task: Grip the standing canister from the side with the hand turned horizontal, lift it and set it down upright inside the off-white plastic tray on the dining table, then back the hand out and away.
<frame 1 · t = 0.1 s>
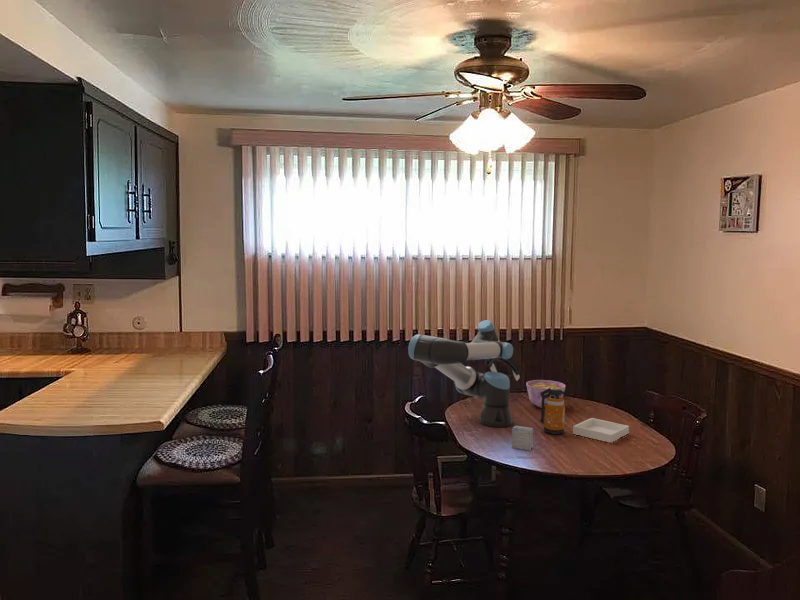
hand: (506, 376, 341), 15 cm above the table, tool tilted 35°, fingers open, 13 cm apart
tray: (600, 434, 296), on the table
medicine box: (522, 448, 278), on the table
bowl of food: (544, 406, 342), on the table
canister: (551, 432, 300), on the table
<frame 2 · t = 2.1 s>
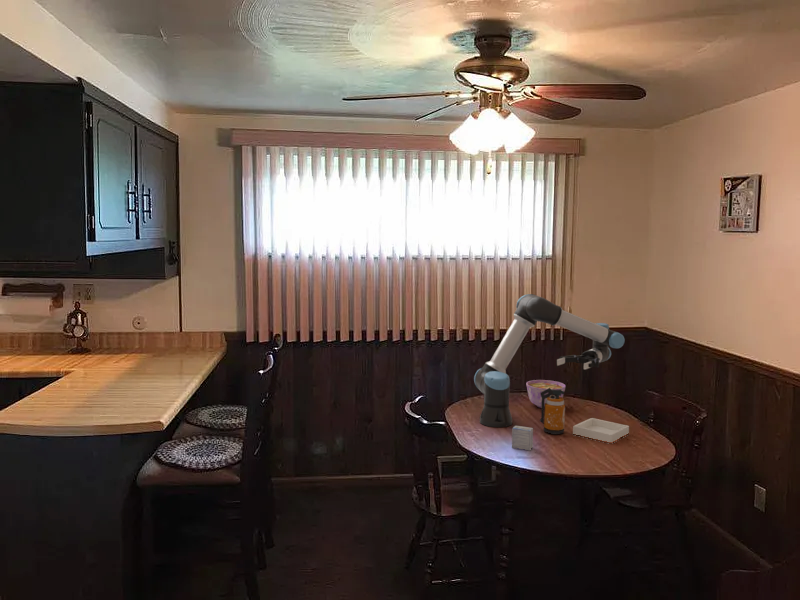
hand: (570, 364, 309), 28 cm above the table, tool horizontal, fingers open, 13 cm apart
nothing on the table moved.
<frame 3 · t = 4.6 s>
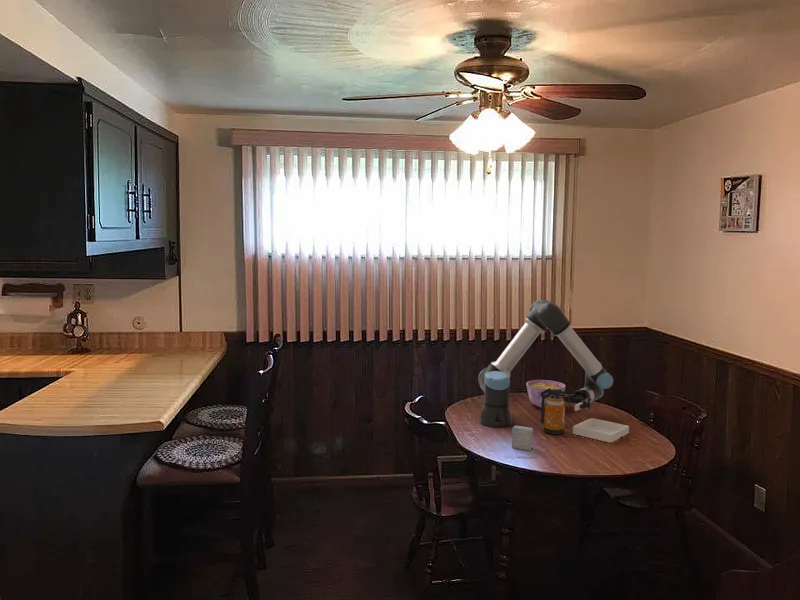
hand: (561, 405, 304), 11 cm above the table, tool horizontal, fingers open, 13 cm apart
nothing on the table moved.
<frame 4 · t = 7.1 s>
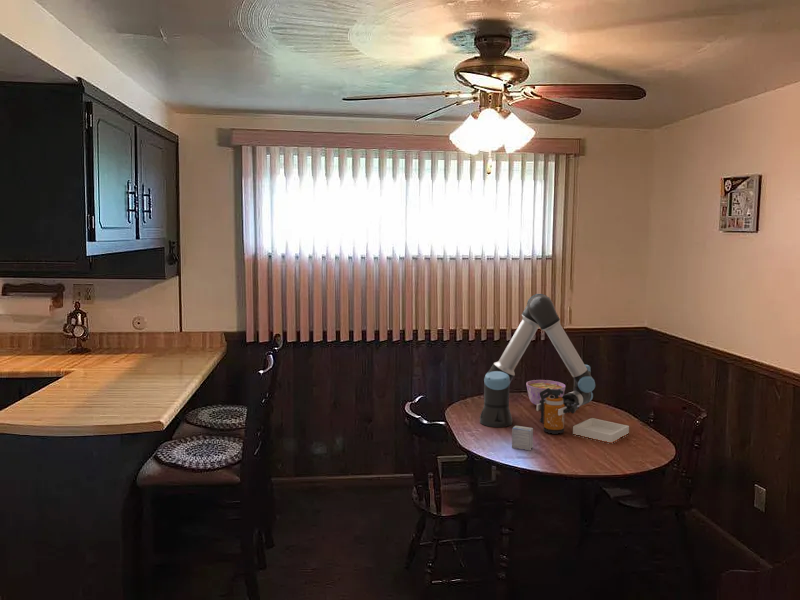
hand: (547, 410, 295), 11 cm above the table, tool horizontal, fingers closed on canister, 10 cm apart
canister: (551, 432, 300), on the table, touching gripper
everything else where it was.
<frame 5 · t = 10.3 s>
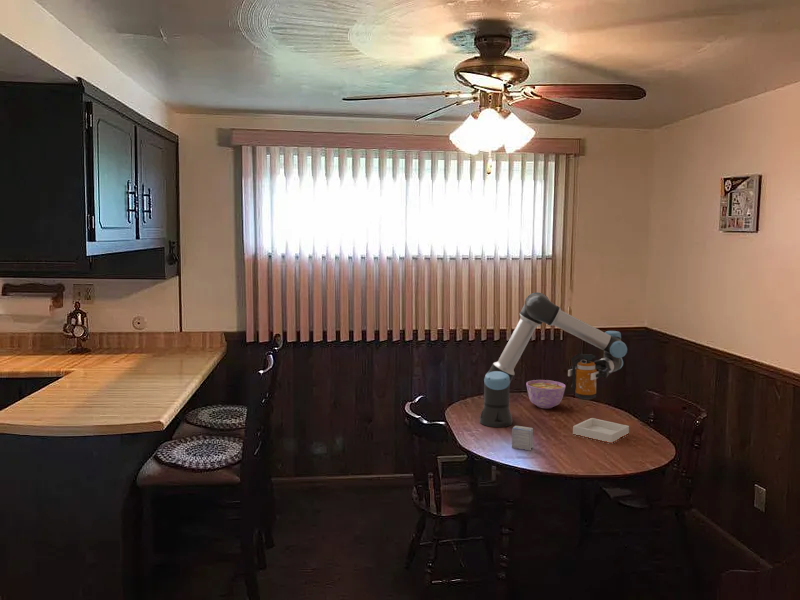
hand: (579, 375, 291), 28 cm above the table, tool horizontal, fingers closed on canister, 10 cm apart
canister: (583, 397, 296), point 16 cm above the table, touching gripper
everything else where it was.
when the fingers open (13 cm above the table, at t = 13.8 s): canister drops 1 cm, resting on tray.
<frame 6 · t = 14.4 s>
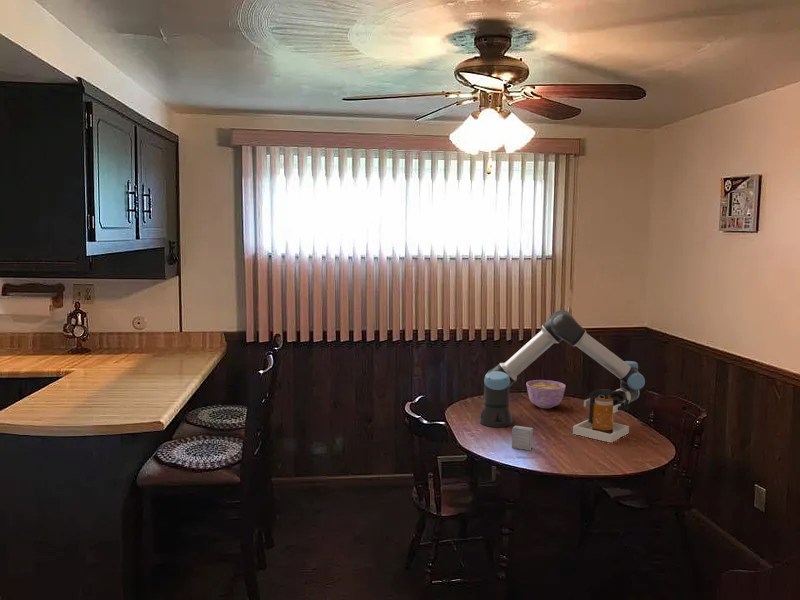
hand: (598, 406, 292), 14 cm above the table, tool horizontal, fingers open, 13 cm apart
canister: (599, 432, 296), point 1 cm above the table, touching tray
everything else where it was.
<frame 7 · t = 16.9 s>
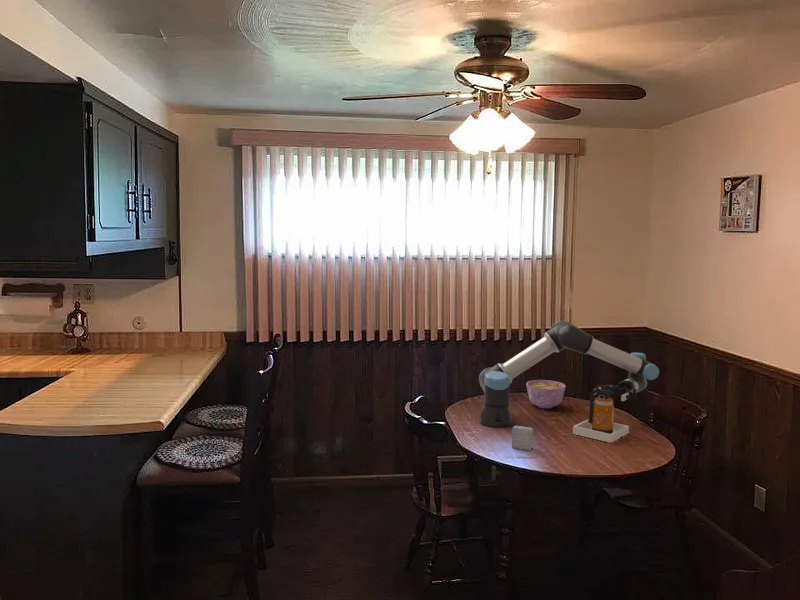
hand: (607, 395, 303), 16 cm above the table, tool horizontal, fingers open, 13 cm apart
nothing on the table moved.
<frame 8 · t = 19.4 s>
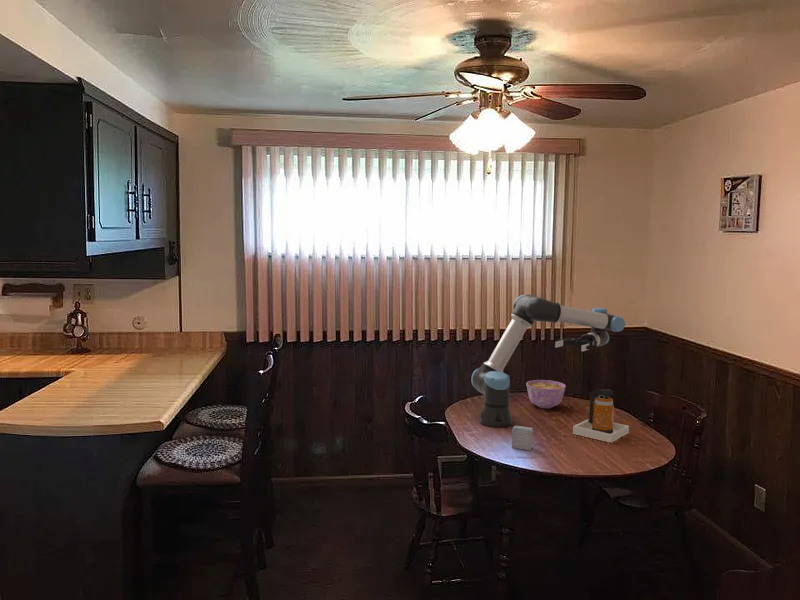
hand: (568, 346, 313), 36 cm above the table, tool horizontal, fingers open, 13 cm apart
nothing on the table moved.
at the end: canister inside the target area on the tray (0.4 cm from its centre), point 0.8 cm above the tray's base; canister tilted 0°; the gripper is holding nothing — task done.
